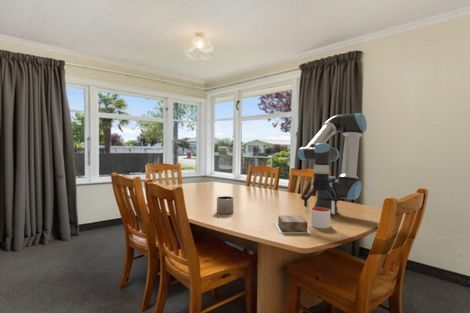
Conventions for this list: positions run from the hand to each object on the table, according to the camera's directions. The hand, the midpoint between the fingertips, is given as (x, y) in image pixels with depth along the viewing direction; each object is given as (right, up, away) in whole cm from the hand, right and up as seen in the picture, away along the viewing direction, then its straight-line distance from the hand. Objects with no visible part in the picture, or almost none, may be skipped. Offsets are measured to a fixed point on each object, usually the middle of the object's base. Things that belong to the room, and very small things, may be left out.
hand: (319, 213), depth 144 cm
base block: (-16, -6, -5) cm, 18 cm away
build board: (-16, -8, -5) cm, 18 cm away
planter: (-51, -6, +32) cm, 61 cm away
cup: (0, -8, +1) cm, 8 cm away
